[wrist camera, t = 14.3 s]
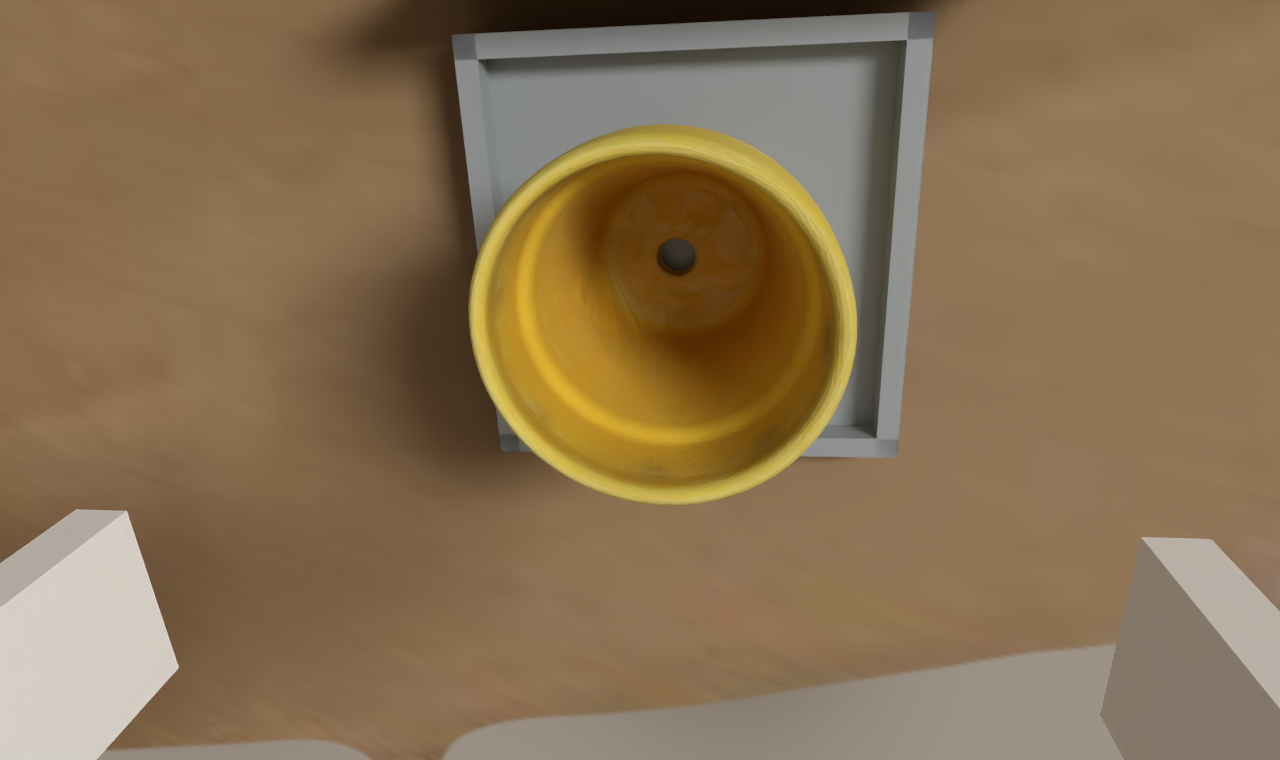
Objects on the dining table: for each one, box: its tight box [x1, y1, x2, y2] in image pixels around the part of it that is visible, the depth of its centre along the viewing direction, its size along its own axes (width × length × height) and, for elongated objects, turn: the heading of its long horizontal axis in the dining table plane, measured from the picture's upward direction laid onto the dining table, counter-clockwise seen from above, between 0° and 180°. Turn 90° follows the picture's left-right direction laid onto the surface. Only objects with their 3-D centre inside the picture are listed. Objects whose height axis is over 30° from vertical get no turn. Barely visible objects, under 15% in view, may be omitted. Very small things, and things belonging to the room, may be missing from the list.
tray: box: [451, 11, 936, 458], centre depth 30 cm, size 16×16×2 cm
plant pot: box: [468, 124, 857, 505], centre depth 26 cm, size 10×10×10 cm
